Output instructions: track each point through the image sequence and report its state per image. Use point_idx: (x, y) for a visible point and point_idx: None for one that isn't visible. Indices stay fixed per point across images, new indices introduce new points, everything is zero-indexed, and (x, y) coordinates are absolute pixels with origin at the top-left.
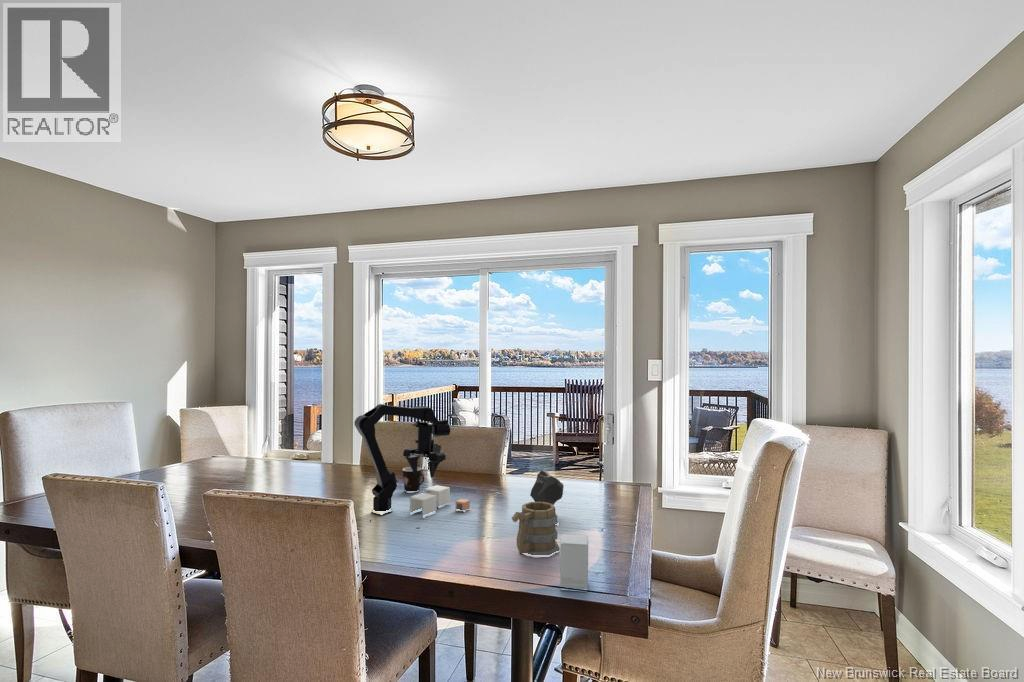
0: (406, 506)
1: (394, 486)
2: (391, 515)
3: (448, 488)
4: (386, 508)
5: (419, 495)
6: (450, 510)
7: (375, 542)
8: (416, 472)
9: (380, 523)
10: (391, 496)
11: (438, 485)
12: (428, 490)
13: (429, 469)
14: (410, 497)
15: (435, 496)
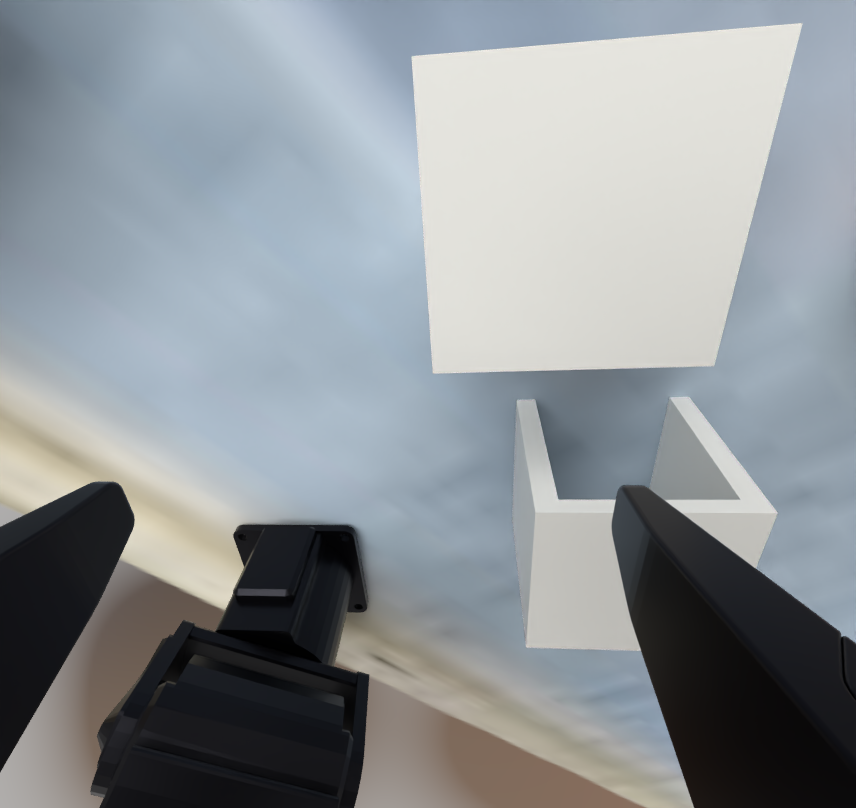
0: (314, 394)
1: (359, 773)
2: (407, 572)
3: (783, 81)
4: (347, 601)
5: (580, 587)
6: (790, 249)
7: (638, 781)
8: (100, 508)
9: (470, 667)
10: (367, 686)
11: (473, 55)
12: (499, 365)
13: (693, 795)
14: (533, 644)
15: (767, 515)
